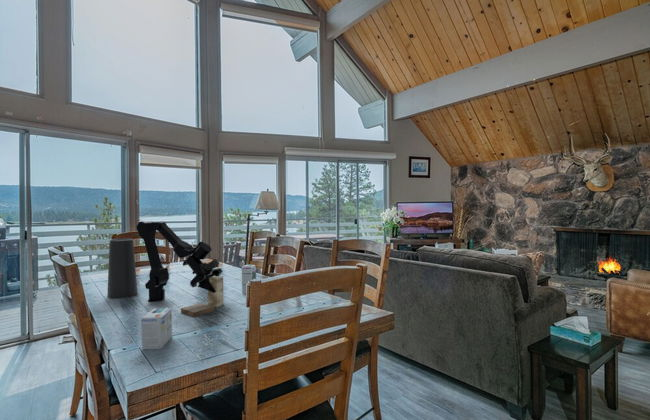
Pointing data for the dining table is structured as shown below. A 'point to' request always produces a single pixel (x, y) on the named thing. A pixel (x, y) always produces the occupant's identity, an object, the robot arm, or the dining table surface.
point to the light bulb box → (156, 328)
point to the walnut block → (197, 309)
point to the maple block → (216, 297)
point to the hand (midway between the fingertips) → (218, 290)
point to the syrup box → (247, 275)
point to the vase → (121, 269)
